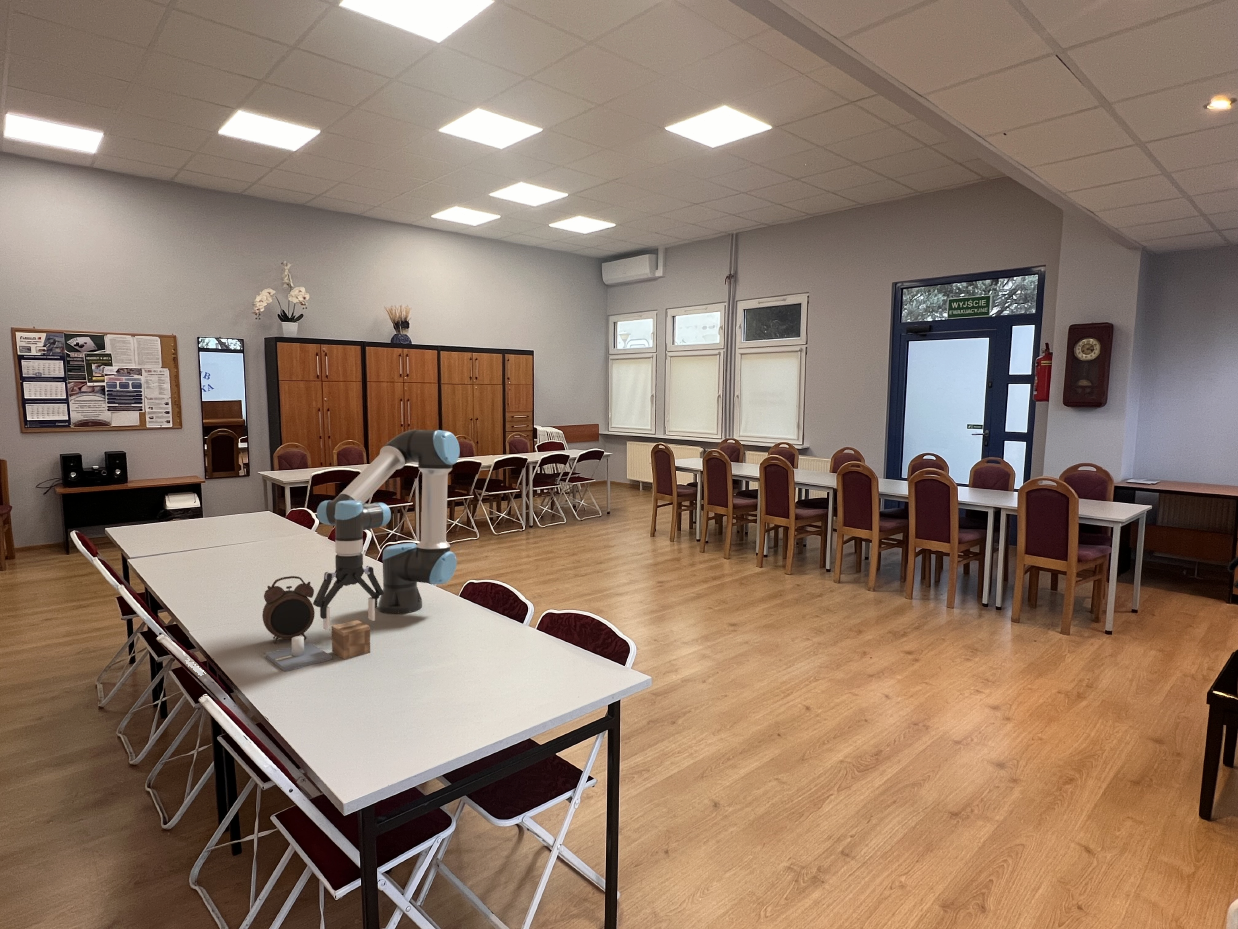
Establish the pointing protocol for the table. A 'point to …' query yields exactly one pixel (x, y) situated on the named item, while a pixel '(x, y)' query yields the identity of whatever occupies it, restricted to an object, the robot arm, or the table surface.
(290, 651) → the plate
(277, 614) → the alarm clock
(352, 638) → the tan drawer box
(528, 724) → the table surface
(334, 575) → the robot arm
